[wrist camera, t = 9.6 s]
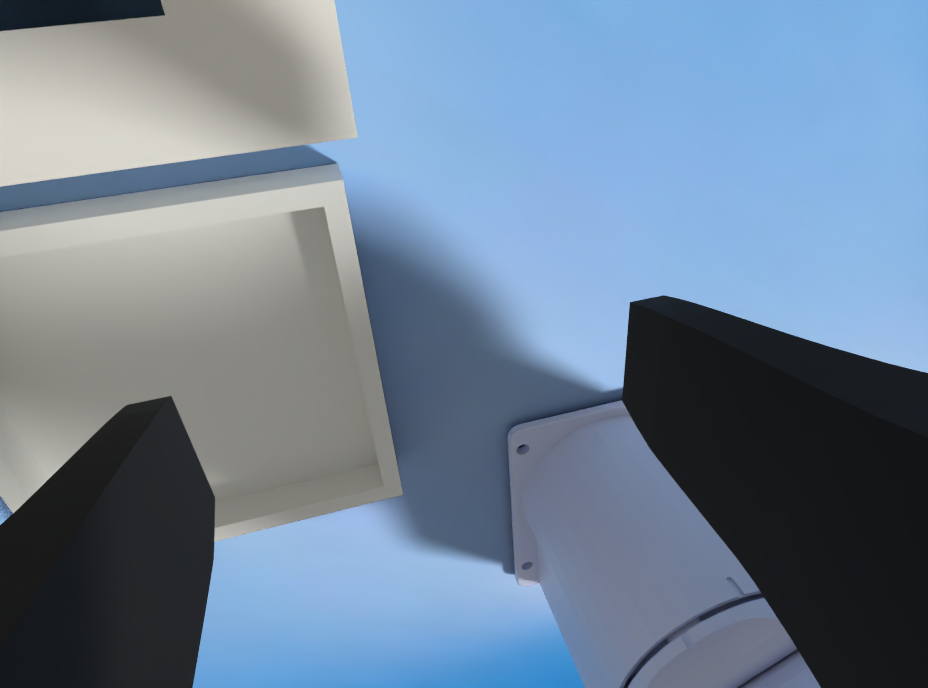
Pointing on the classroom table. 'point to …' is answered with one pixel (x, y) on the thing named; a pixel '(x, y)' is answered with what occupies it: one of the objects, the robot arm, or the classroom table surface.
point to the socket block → (171, 87)
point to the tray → (199, 341)
